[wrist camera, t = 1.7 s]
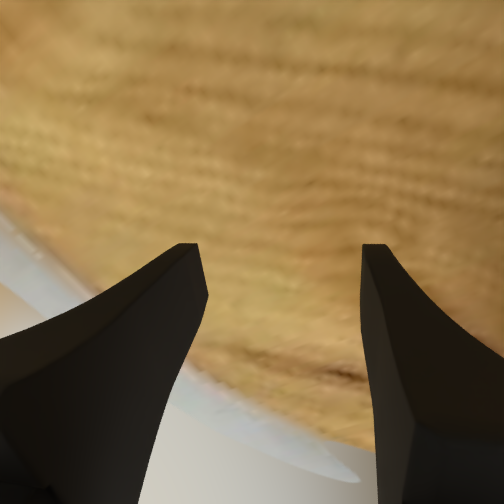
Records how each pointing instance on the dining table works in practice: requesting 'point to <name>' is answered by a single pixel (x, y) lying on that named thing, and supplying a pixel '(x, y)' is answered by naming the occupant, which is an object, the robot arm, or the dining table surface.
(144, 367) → the robot arm
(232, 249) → the dining table surface
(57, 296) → the dining table surface
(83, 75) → the dining table surface
